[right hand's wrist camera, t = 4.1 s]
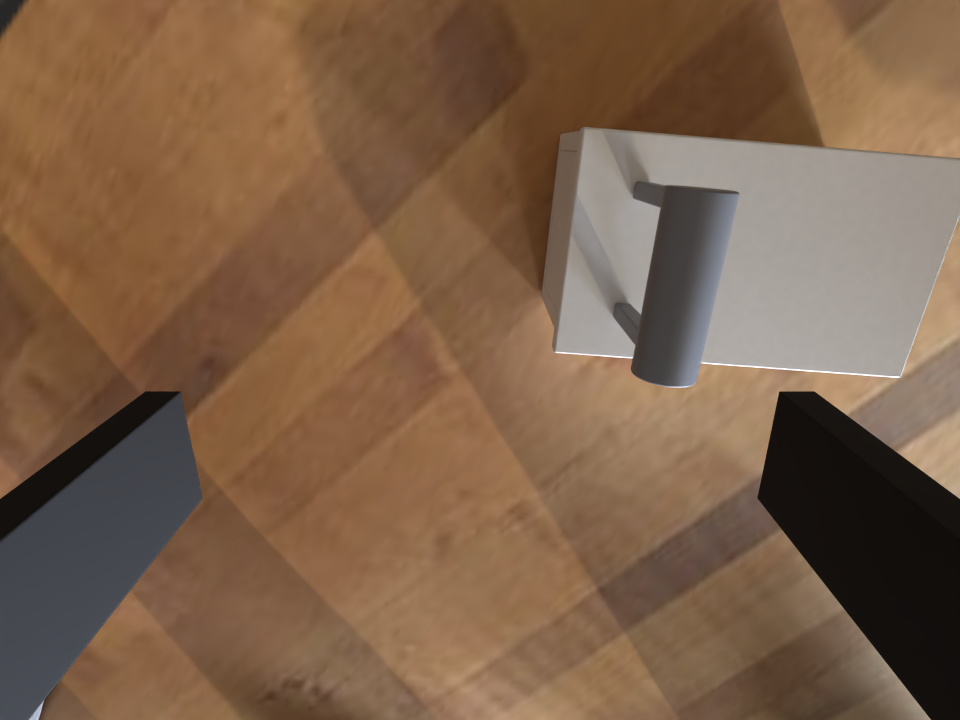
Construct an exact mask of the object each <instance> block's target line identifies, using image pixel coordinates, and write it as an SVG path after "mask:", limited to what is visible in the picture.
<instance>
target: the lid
mask: <svg viewBox="0 0 960 720" xmlns="http://www.w3.org/2000/svg"><path fill="white" fill-rule="evenodd" d="M959 216H960V158H950V157H938V156H926V155H914V154H902V153H890V152H878V151H866V150H855V149H843V148H831V147H819V146H807V145H795V144H783V143H771V142H759V141H748V140H736V139H724V138H712V137H700V136H688V135H676V134H664V133H653V132H641V131H629V130H617V129H605V128H593V127H582V128H581V129H580V133H579V141H578V149H577V156H576V164H575V172H574V180H573V187H572V195H571V203H570V211H569V218H568V226H567V234H566V241H565V249H564V257H563V265H562V272H561V280H560V288H559V296H558V303H557V311H556V319H555V327H554V334H553V342H552V347H553V350H554V352H555V353H568V354H581V355H595V356H609V357H622V358H633V360H632V366H631V371H632V373H633V374H634V375H635V376H636V377H638V378H640V379H642V380H644V381H646V382H649V383H652V384H656V385H660V386H665V387H676V388H682V387H689V386H692V385H694V384H695V383H696V382H697V378H698V373H699V369H700V365H701V363H704V364H718V365H732V366H745V367H759V368H773V369H786V370H800V371H814V372H827V373H841V374H855V375H868V376H882V377H896V378H899V377H901V375H902V372H903V369H904V367H905V364H906V361H907V358H908V356H909V353H910V350H911V347H912V345H913V342H914V339H915V337H916V334H917V331H918V328H919V326H920V323H921V320H922V317H923V315H924V312H925V309H926V306H927V304H928V301H929V298H930V295H931V293H932V290H933V287H934V285H935V282H936V279H937V276H938V274H939V271H940V268H941V265H942V263H943V260H944V257H945V254H946V252H947V249H948V246H949V244H950V241H951V238H952V235H953V233H954V230H955V227H956V224H957V222H958V219H959Z"/></svg>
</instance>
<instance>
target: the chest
mask: <svg viewBox="0 0 960 720" xmlns="http://www.w3.org/2000/svg"><path fill="white" fill-rule="evenodd" d="M579 133H580V131H575V132H569V133H563V134H561V135H560V142H559V151H558V159H557V168H556V176H555V185H554V193H553V202H552V210H551V218H550V227H549V235H548V244H547V252H546V261H545V269H544V278H543V286H542V295H541V296H542V299H543V301H544V304H545V306H546V309H547V311H548V314H549V316H550V318H551V321H552V323H553V326H554V327H555V319H556V311H557V303H558V296H559V288H560V280H561V272H562V265H563V257H564V249H565V241H566V234H567V226H568V218H569V211H570V203H571V195H572V187H573V180H574V172H575V164H576V156H577V149H578V141H579Z"/></svg>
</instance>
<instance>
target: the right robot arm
mask: <svg viewBox="0 0 960 720" xmlns="http://www.w3.org/2000/svg"><path fill="white" fill-rule="evenodd" d="M201 499H202V493H201V489H200V484H199V479H198V474H197V469H196V464H195V459H194V455H193V450H192V445H191V440H190V435H189V430H188V425H187V420H186V416H185V411H184V406H183V401H182V396H181V392H144V393H143V394H142V395H140V396H139V397H138V398H136V399H135V400H134V401H132V402H131V403H130V404H128V405H127V406H125V407H124V408H123V409H121V410H120V411H119V412H117V413H116V414H115V415H113V416H112V417H111V418H109V419H108V420H107V421H105V422H104V423H102V424H101V425H100V426H98V427H97V428H96V429H94V430H93V431H92V432H90V433H89V434H88V435H86V436H85V437H84V438H82V439H81V440H79V441H78V442H77V443H75V444H74V445H73V446H71V447H70V448H69V449H67V450H66V451H65V452H63V453H62V454H61V455H59V456H58V457H56V458H55V459H54V460H52V461H51V462H50V463H48V464H47V465H46V466H44V467H43V468H42V469H40V470H39V471H38V472H36V473H35V474H34V475H32V476H31V477H29V478H28V479H27V480H25V481H24V482H23V483H21V484H20V485H19V486H17V487H16V488H15V489H13V490H12V491H11V492H9V493H8V494H6V495H5V496H4V497H2V498H1V499H0V720H29V719H30V718H31V716H32V715H33V714H34V712H35V711H36V710H37V709H38V707H39V706H40V705H41V704H42V702H43V701H44V700H45V698H46V697H47V696H48V695H49V693H50V692H51V691H52V690H53V688H54V687H55V686H56V684H57V683H58V682H59V681H60V679H61V678H62V677H63V675H64V674H65V673H66V672H67V670H68V669H69V668H70V667H71V665H72V664H73V663H74V661H75V660H76V659H77V658H78V656H79V655H80V654H81V653H82V651H83V650H84V649H85V647H86V646H87V645H88V644H89V642H90V641H91V640H92V639H93V637H94V636H95V635H96V633H97V632H98V631H99V630H100V628H101V627H102V626H103V624H104V623H105V622H106V621H107V619H108V618H109V617H110V616H111V614H112V613H113V612H114V610H115V609H116V608H117V607H118V605H119V604H120V603H121V602H122V600H123V599H124V598H125V596H126V595H127V594H128V593H129V591H130V590H131V589H132V587H133V586H134V585H135V584H136V582H137V581H138V580H139V579H140V577H141V576H142V575H143V573H144V572H145V571H146V570H147V568H148V567H149V566H150V565H151V563H152V562H153V561H154V559H155V558H156V557H157V556H158V554H159V553H160V552H161V551H162V549H163V548H164V547H165V545H166V544H167V543H168V542H169V540H170V539H171V538H172V536H173V535H174V534H175V533H176V531H177V530H178V529H179V528H180V526H181V525H182V524H183V522H184V521H185V520H186V519H187V517H188V516H189V515H190V514H191V512H192V511H193V510H194V508H195V507H196V506H197V505H198V503H199V502H200V501H201ZM758 499H759V501H760V502H761V503H762V505H763V506H764V507H765V508H766V510H767V511H768V512H769V514H770V515H771V516H772V517H773V519H774V520H775V521H776V522H777V524H778V525H779V526H780V528H781V529H782V530H783V531H784V533H785V534H786V535H787V536H788V538H789V539H790V540H791V542H792V543H793V544H794V545H795V547H796V548H797V549H798V551H799V552H800V553H801V554H802V556H803V557H804V558H805V559H806V561H807V562H808V563H809V565H810V566H811V567H812V568H813V570H814V571H815V572H816V573H817V575H818V576H819V577H820V579H821V580H822V581H823V582H824V584H825V585H826V586H827V587H828V589H829V590H830V591H831V593H832V594H833V595H834V596H835V598H836V599H837V600H838V602H839V603H840V604H841V605H842V607H843V608H844V609H845V610H846V612H847V613H848V614H849V616H850V617H851V618H852V619H853V621H854V622H855V623H856V624H857V626H858V627H859V628H860V630H861V631H862V632H863V633H864V635H865V636H866V637H867V639H868V640H869V641H870V642H871V644H872V645H873V646H874V647H875V649H876V650H877V651H878V653H879V654H880V655H881V656H882V658H883V659H884V660H885V661H886V663H887V664H888V665H889V667H890V668H891V669H892V670H893V672H894V673H895V674H896V675H897V677H898V678H899V679H900V681H901V682H902V683H903V684H904V686H905V687H906V688H907V690H908V691H909V692H910V693H911V695H912V696H913V697H914V698H915V700H916V701H917V702H918V704H919V705H920V706H921V707H922V709H923V710H924V711H925V712H926V714H927V715H928V716H929V718H930V719H931V720H960V499H959V498H958V497H956V496H955V495H954V494H952V493H951V492H949V491H948V490H947V489H945V488H944V487H943V486H941V485H940V484H939V483H937V482H936V481H935V480H933V479H932V478H931V477H929V476H928V475H926V474H925V473H924V472H922V471H921V470H920V469H918V468H917V467H916V466H914V465H913V464H912V463H910V462H909V461H908V460H906V459H905V458H904V457H902V456H901V455H899V454H898V453H897V452H895V451H894V450H893V449H891V448H890V447H889V446H887V445H886V444H885V443H883V442H882V441H881V440H879V439H878V438H876V437H875V436H874V435H872V434H871V433H870V432H868V431H867V430H866V429H864V428H863V427H862V426H860V425H859V424H858V423H856V422H855V421H853V420H852V419H851V418H849V417H848V416H847V415H845V414H844V413H843V412H841V411H840V410H839V409H837V408H836V407H835V406H833V405H832V404H830V403H829V402H828V401H826V400H825V399H824V398H822V397H821V396H820V395H818V394H817V393H816V392H779V396H778V401H777V406H776V411H775V416H774V420H773V425H772V430H771V435H770V440H769V445H768V450H767V455H766V459H765V464H764V469H763V474H762V479H761V484H760V489H759V493H758Z"/></svg>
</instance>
